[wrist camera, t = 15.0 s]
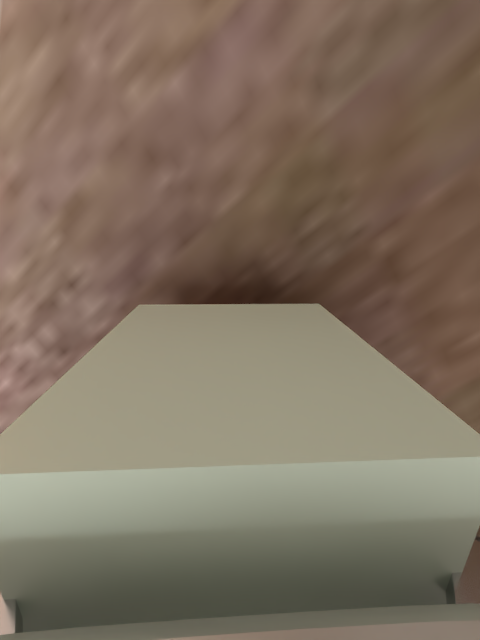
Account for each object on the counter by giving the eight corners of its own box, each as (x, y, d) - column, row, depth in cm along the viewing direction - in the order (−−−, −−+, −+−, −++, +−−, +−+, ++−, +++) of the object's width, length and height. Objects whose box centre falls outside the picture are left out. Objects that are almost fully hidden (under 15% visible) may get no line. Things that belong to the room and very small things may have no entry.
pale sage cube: (304, 447, 15) (406, 722, 7) (154, 452, 15) (62, 752, 6) (318, 303, 13) (506, 456, 4) (138, 304, 12) (-44, 475, 4)
